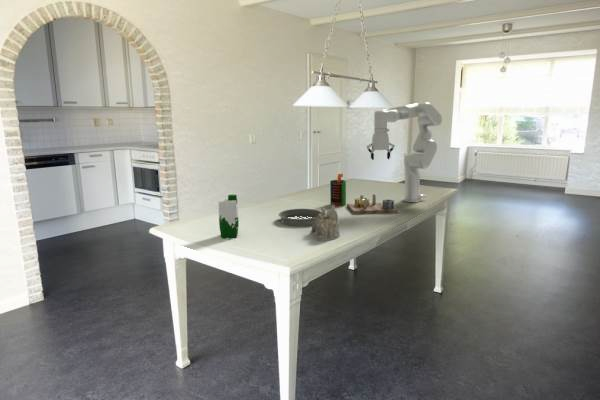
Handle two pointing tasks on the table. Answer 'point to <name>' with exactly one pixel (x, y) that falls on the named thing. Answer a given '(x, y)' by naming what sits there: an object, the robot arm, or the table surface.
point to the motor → (338, 191)
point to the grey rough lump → (325, 225)
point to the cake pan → (298, 213)
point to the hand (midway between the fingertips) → (380, 159)
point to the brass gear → (360, 202)
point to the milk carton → (228, 217)
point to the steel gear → (388, 204)
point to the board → (370, 207)
